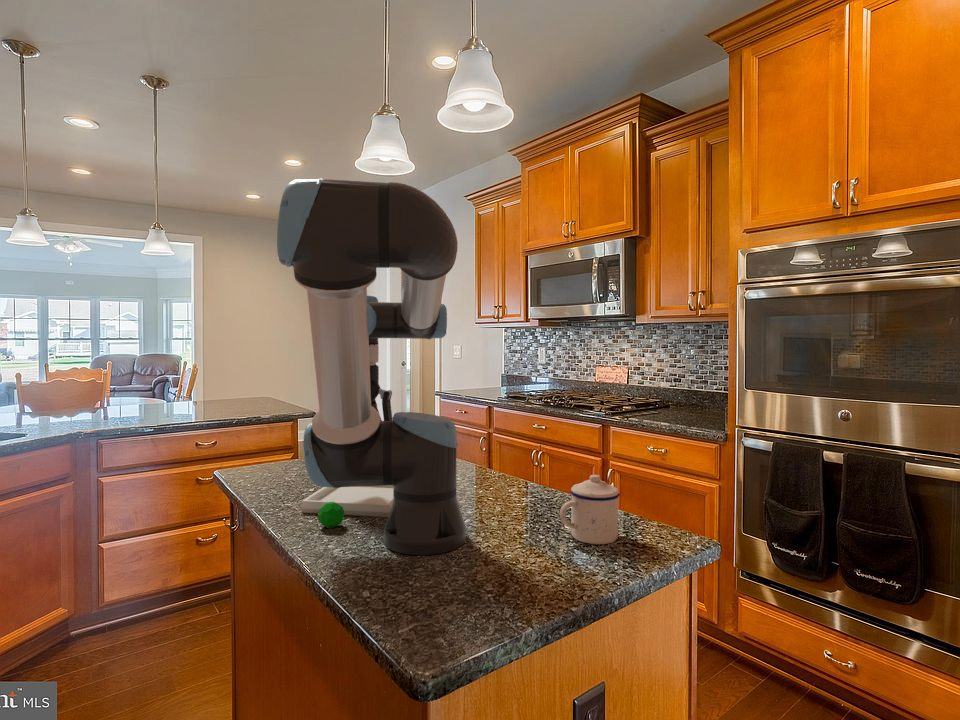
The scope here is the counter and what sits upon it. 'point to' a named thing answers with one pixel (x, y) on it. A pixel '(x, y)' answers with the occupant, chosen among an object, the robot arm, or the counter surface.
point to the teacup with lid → (593, 511)
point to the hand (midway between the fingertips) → (361, 464)
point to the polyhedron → (331, 514)
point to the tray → (353, 500)
